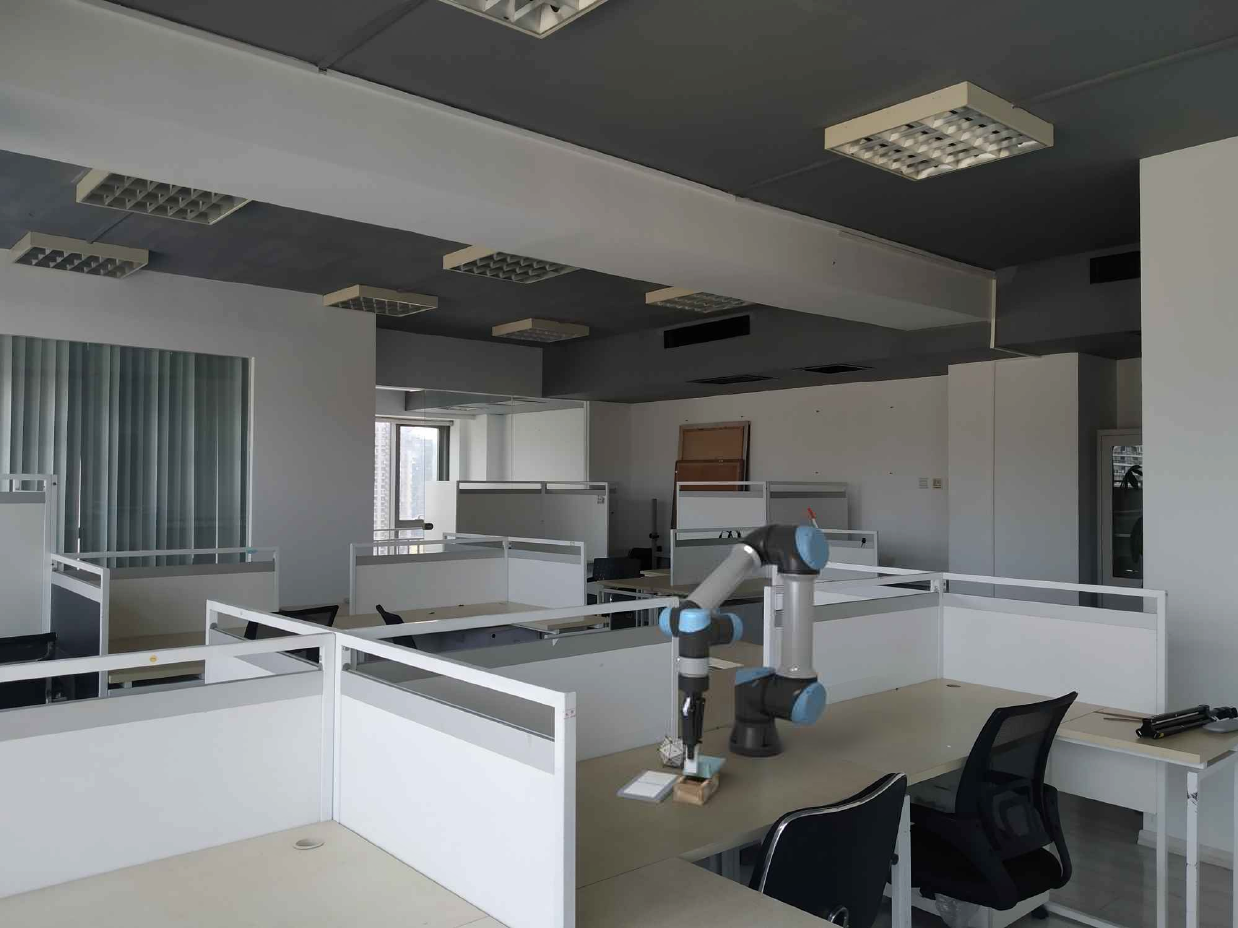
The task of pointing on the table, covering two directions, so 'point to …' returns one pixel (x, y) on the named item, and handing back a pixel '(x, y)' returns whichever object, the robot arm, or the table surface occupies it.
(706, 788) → the box
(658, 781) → the board
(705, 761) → the lid
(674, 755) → the game die
